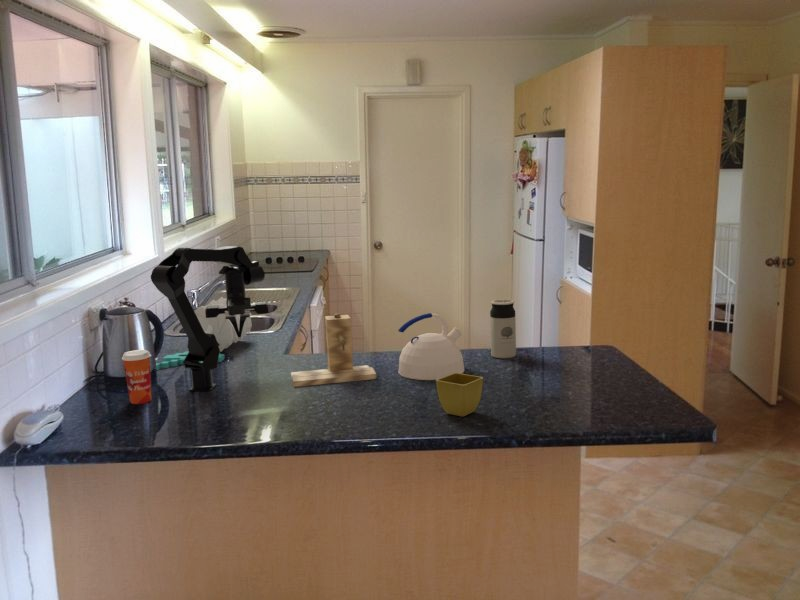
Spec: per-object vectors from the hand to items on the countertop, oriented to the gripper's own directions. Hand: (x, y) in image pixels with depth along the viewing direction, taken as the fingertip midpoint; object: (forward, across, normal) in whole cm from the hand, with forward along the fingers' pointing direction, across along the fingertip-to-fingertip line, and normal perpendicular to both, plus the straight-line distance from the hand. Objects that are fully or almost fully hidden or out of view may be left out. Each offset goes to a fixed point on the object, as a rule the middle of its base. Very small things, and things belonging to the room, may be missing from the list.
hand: (239, 337), depth 228 cm
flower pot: (+12, +54, -57) cm, 79 cm away
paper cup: (+12, -28, -18) cm, 35 cm away
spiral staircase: (+12, -7, +42) cm, 45 cm away
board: (+12, +27, -14) cm, 32 cm away
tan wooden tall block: (+11, +29, -16) cm, 35 cm away
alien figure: (+13, -17, +23) cm, 31 cm away
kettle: (+12, +57, -16) cm, 60 cm away
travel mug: (+12, +83, -7) cm, 84 cm away
